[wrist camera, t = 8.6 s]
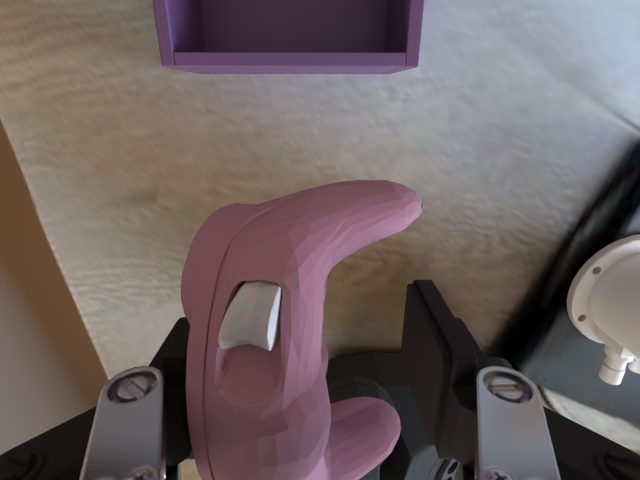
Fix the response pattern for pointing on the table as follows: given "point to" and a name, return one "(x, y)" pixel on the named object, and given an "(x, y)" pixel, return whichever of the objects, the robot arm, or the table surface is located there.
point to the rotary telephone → (393, 387)
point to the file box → (289, 36)
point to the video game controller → (281, 335)
